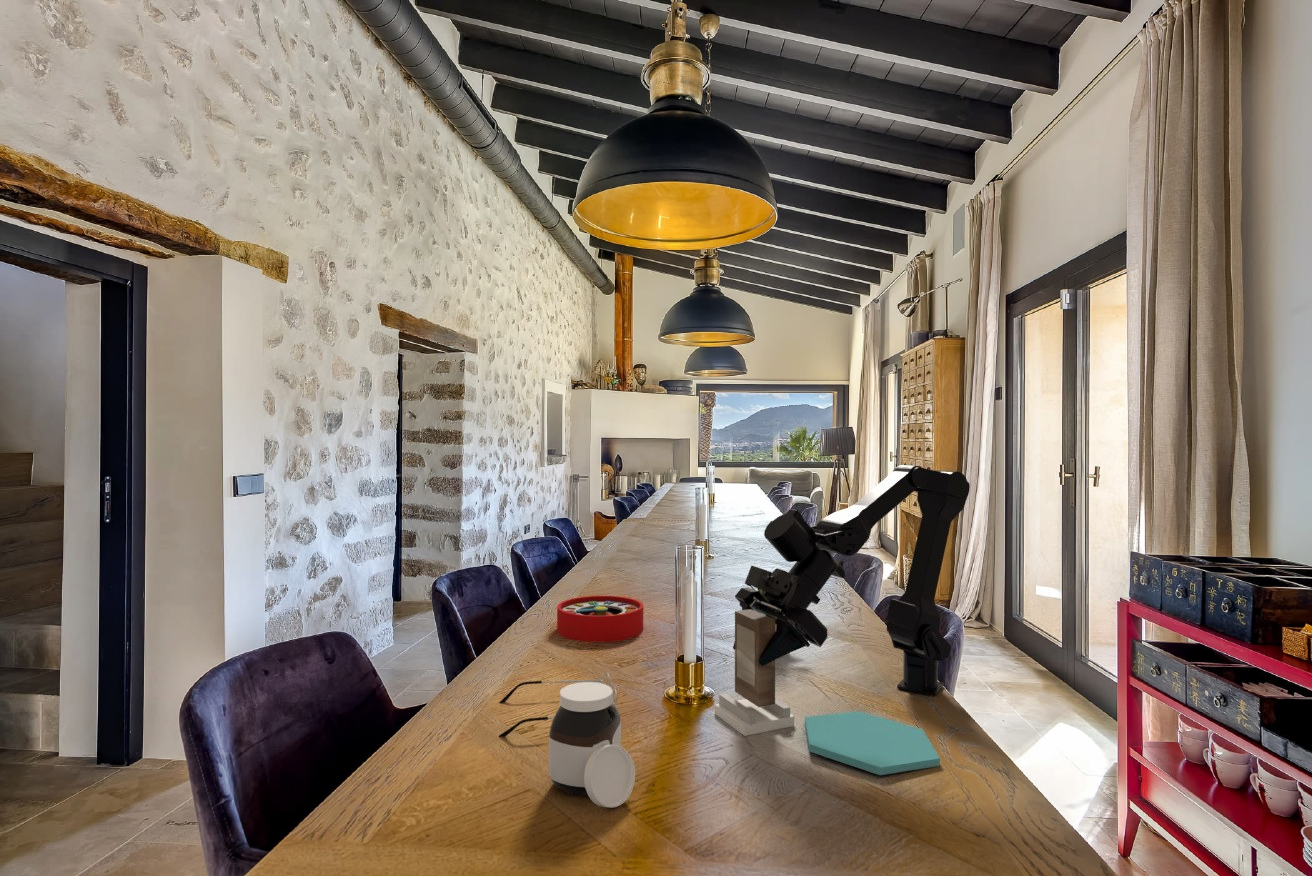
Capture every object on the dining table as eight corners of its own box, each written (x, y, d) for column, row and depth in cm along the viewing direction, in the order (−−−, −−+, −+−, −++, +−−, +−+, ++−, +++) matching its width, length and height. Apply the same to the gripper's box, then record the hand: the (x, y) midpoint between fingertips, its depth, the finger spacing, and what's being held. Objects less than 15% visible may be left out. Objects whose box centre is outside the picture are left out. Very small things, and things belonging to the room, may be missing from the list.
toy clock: (655, 612, 152) (566, 619, 145) (655, 638, 152) (566, 646, 145) (629, 593, 171) (550, 598, 164) (629, 616, 171) (549, 623, 164)
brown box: (750, 688, 111) (750, 609, 111) (775, 704, 105) (775, 619, 105) (734, 691, 110) (734, 611, 110) (757, 707, 103) (757, 621, 103)
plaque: (883, 720, 110) (776, 733, 103) (884, 707, 110) (776, 719, 103) (968, 768, 94) (847, 787, 87) (968, 753, 94) (847, 770, 87)
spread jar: (577, 759, 94) (578, 674, 94) (653, 774, 90) (654, 686, 90) (530, 802, 83) (531, 706, 83) (615, 822, 78) (616, 720, 78)
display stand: (762, 705, 113) (762, 687, 113) (794, 725, 105) (794, 706, 105) (714, 713, 110) (714, 695, 110) (744, 736, 101) (744, 715, 101)
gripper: (744, 540, 118) (687, 610, 113) (811, 557, 101) (747, 641, 96) (782, 581, 121) (728, 652, 116) (853, 605, 104) (793, 688, 99)
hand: (747, 656), depth 107 cm, fingers closed on brown box, 7 cm apart
